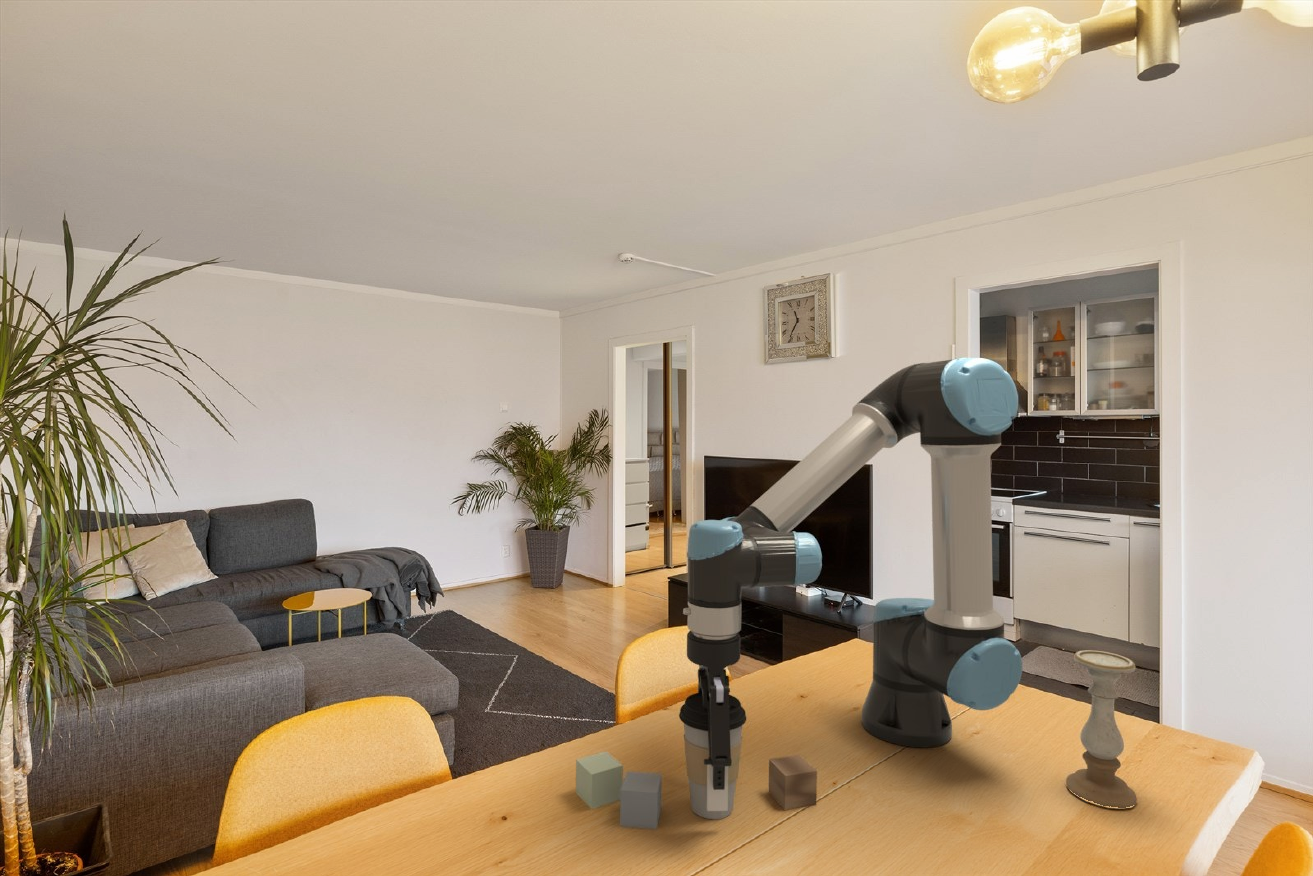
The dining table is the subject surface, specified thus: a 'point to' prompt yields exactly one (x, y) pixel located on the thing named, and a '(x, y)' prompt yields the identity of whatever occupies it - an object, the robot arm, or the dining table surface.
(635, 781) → the slate cube
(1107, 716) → the candle holder
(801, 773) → the walnut cube
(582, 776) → the sage cube
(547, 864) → the dining table surface
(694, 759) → the coffee cup
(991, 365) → the robot arm
